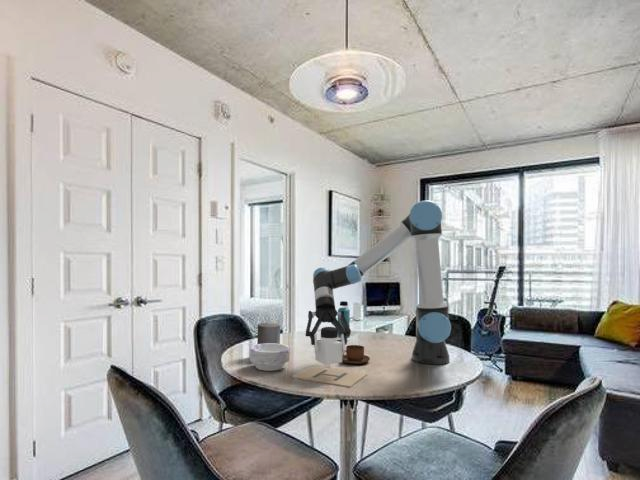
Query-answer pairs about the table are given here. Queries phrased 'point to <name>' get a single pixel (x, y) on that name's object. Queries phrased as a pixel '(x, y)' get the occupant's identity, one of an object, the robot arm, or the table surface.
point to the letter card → (330, 376)
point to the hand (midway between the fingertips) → (330, 352)
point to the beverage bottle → (346, 314)
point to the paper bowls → (269, 356)
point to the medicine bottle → (329, 346)
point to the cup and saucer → (355, 355)
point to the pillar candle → (268, 333)
